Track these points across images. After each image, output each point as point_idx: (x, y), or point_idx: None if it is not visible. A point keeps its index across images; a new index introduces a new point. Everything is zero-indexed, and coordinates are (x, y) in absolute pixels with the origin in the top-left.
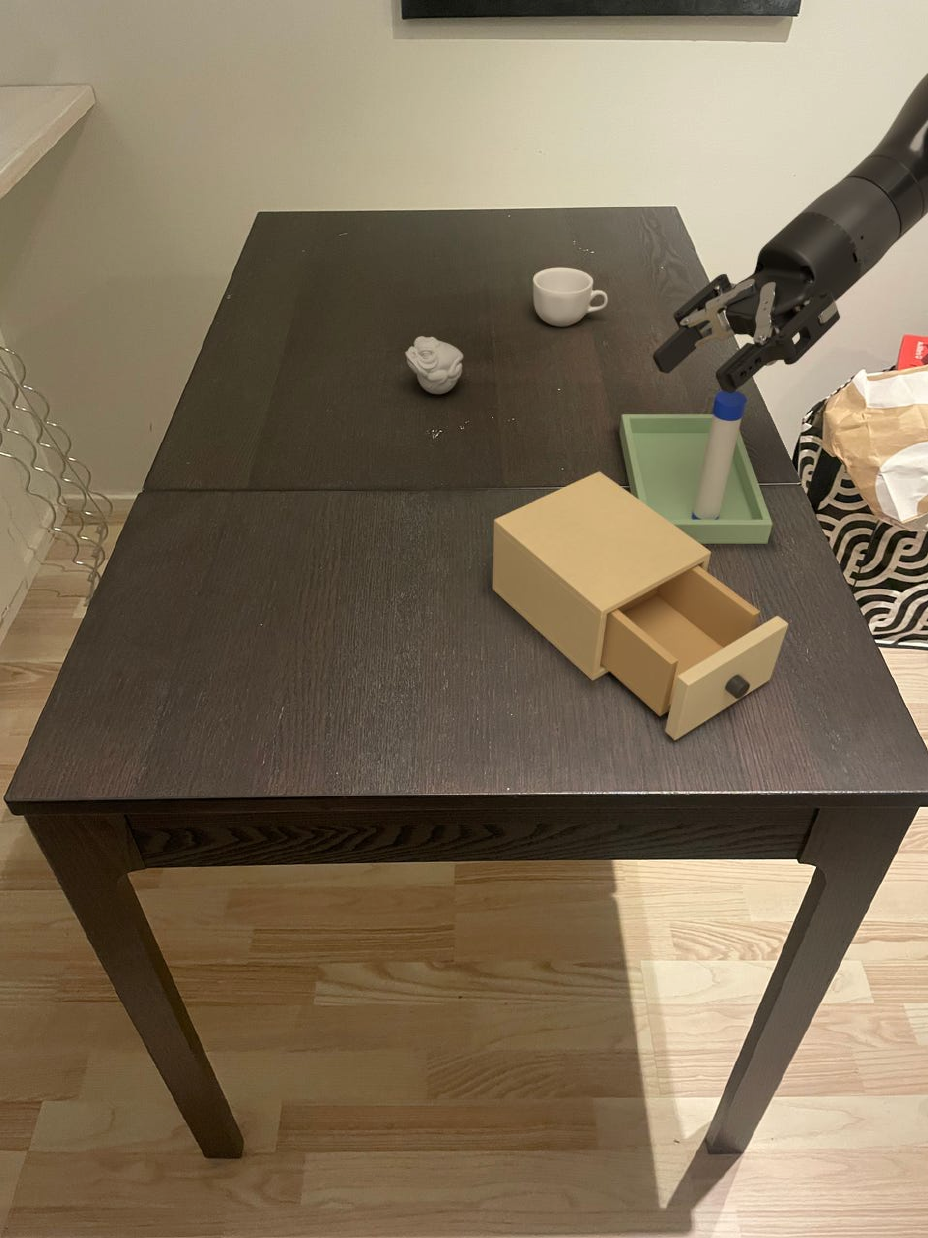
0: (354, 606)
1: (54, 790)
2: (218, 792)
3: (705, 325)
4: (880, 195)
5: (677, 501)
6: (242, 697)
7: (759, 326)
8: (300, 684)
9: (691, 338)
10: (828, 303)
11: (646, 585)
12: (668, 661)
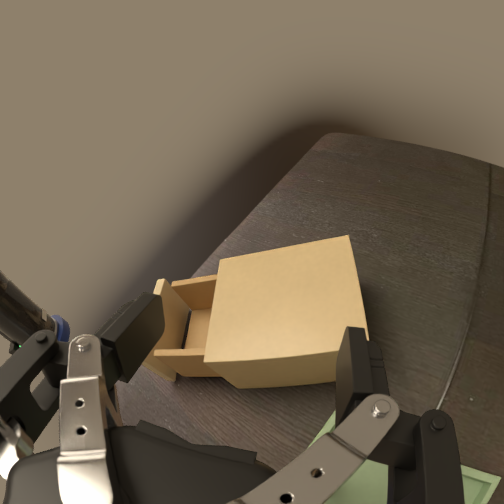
0: (375, 213)
1: (324, 136)
2: (295, 165)
3: (387, 496)
4: None
5: (363, 477)
6: (336, 171)
7: (93, 374)
8: (332, 187)
9: (343, 411)
10: None
11: (215, 295)
12: (174, 281)
